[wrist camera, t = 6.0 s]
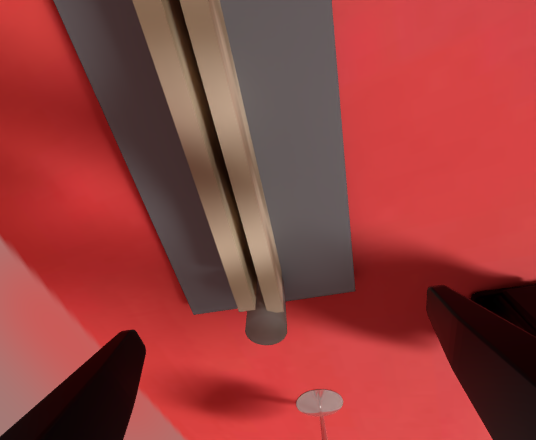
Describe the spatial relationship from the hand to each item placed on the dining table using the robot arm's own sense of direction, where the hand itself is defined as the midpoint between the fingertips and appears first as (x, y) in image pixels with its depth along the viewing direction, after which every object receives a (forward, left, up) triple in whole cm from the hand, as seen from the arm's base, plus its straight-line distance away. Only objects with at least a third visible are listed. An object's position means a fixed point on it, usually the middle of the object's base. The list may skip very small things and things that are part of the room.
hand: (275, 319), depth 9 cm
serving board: (+1, +2, -12) cm, 12 cm away
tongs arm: (+3, +3, -10) cm, 11 cm away
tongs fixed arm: (+1, +2, -11) cm, 11 cm away
